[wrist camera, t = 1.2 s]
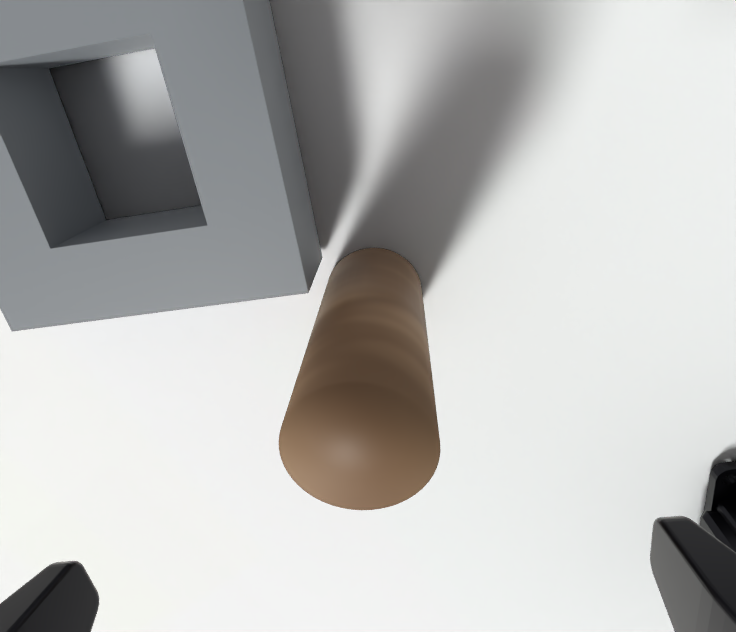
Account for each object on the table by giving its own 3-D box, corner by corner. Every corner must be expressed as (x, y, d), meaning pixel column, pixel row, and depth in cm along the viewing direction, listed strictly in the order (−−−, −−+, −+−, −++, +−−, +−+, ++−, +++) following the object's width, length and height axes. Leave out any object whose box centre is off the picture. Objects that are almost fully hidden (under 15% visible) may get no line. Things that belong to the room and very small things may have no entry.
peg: (415, 241, 17) (431, 372, 9) (426, 329, 18) (447, 503, 11) (318, 254, 17) (262, 391, 10) (336, 339, 18) (297, 515, 11)
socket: (253, -74, 13) (217, -112, 10) (322, 257, 17) (308, 292, 14) (-61, -7, 14) (-168, -26, 11) (69, 292, 18) (11, 331, 15)
